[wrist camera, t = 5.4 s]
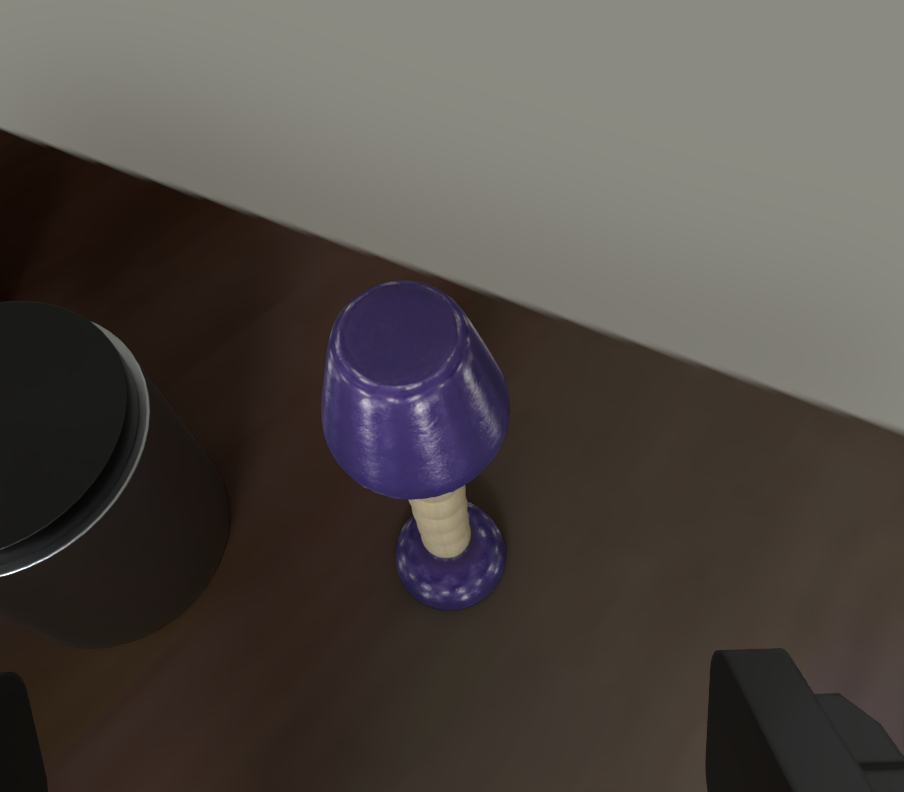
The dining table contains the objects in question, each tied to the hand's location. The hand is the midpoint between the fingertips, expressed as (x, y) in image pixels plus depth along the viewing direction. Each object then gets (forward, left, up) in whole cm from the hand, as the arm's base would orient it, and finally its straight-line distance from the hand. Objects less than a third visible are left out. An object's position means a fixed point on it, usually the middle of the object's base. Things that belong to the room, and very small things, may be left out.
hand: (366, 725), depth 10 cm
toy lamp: (-4, +7, -21) cm, 23 cm away
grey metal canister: (-16, +2, -21) cm, 27 cm away
